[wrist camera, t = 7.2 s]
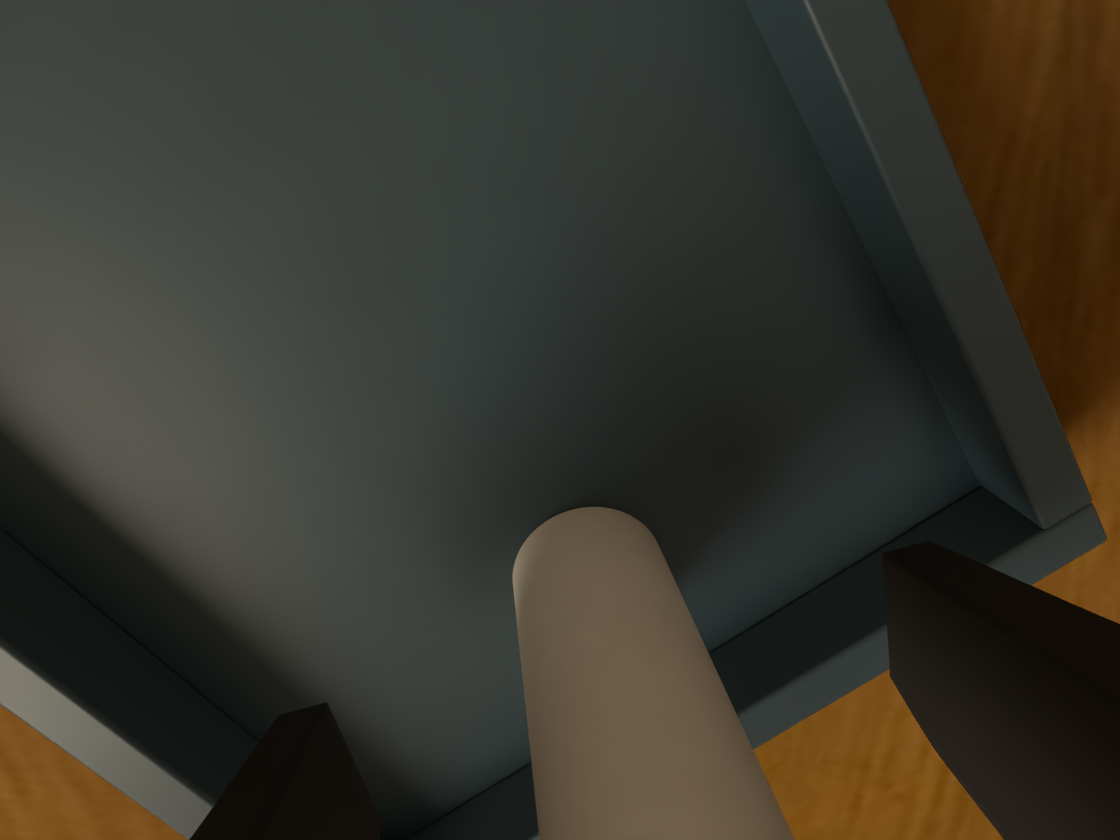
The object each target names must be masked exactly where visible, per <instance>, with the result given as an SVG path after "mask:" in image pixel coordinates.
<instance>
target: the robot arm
mask: <svg viewBox="0 0 1120 840" xmlns="http://www.w3.org/2000/svg"><path fill="white" fill-rule="evenodd" d="M882 560H883V575H884V590H885V605H886V620H887V635H888V650H889V665H890V677H891V679H892V680H893V682H894V684H895V685H896V687H897V689H898V691H899V692H900V694H901V696H902V697H903V699H904V701H905V702H906V704H907V706H908V707H909V709H910V711H911V712H912V714H913V716H914V717H915V719H916V721H917V722H918V724H919V725H920V727H921V729H922V730H923V732H924V733H925V735H926V737H927V738H928V740H929V741H930V743H931V744H932V746H933V748H934V749H935V751H936V752H937V753H938V755H939V756H940V757H941V759H942V760H943V761H944V763H945V764H946V765H947V767H948V768H949V769H950V770H951V772H952V773H953V774H954V776H955V777H956V778H957V779H958V781H959V782H960V783H961V785H962V786H963V787H964V789H965V790H966V791H967V792H968V794H969V795H970V796H971V798H972V799H973V800H974V801H975V803H976V804H977V805H978V807H979V808H980V809H981V810H982V812H983V813H984V814H985V816H986V817H987V818H988V819H989V821H990V822H991V823H992V825H993V826H994V827H995V828H996V830H997V831H998V832H999V833H1000V835H1001V836H1002V837H1003V839H1004V840H1120V624H1118V623H1116V622H1113V621H1111V620H1109V619H1106V618H1104V617H1101V616H1099V615H1097V614H1095V613H1092V612H1090V611H1088V610H1085V609H1083V608H1081V607H1078V606H1076V605H1074V604H1071V603H1069V602H1067V601H1065V600H1062V599H1060V598H1058V597H1056V596H1053V595H1051V594H1049V593H1046V592H1044V591H1042V590H1040V589H1038V588H1035V587H1033V586H1031V585H1029V584H1026V583H1024V582H1022V581H1020V580H1017V579H1015V578H1013V577H1011V576H1009V575H1006V574H1004V573H1002V572H1000V571H997V570H995V569H993V568H991V567H989V566H986V565H984V564H982V563H980V562H977V561H975V560H973V559H971V558H968V557H966V556H964V555H962V554H959V553H957V552H955V551H952V550H950V549H948V548H945V547H943V546H940V545H938V544H935V543H933V542H930V541H925V542H921V543H917V544H914V545H910V546H906V547H903V548H899V549H895V550H891V551H888V552H884V553H882ZM189 840H380V815H379V813H378V811H377V809H376V807H375V805H374V802H373V800H372V798H371V796H370V794H369V792H368V790H367V787H366V785H365V783H364V781H363V779H362V777H361V774H360V772H359V770H358V768H357V766H356V764H355V762H354V759H353V757H352V755H351V753H350V751H349V749H348V746H347V744H346V742H345V740H344V738H343V736H342V734H341V731H340V729H339V727H338V725H337V723H336V721H335V718H334V716H333V714H332V712H331V710H330V708H329V706H328V703H327V702H325V703H322V704H318V705H314V706H310V707H307V708H303V709H299V710H296V711H292V712H288V713H284V714H281V715H279V716H278V717H277V719H276V720H275V721H274V722H273V724H272V725H271V726H270V728H269V729H268V730H267V732H266V733H265V734H264V736H263V737H262V739H261V740H260V741H259V743H258V744H257V746H256V747H255V748H254V750H253V751H252V753H251V754H250V755H249V757H248V758H247V760H246V761H245V762H244V764H243V765H242V767H241V768H240V769H239V771H238V772H237V774H236V775H235V777H234V778H233V779H232V781H231V782H230V784H229V785H228V786H227V788H226V789H225V791H224V792H223V794H222V795H221V796H220V798H219V799H218V801H217V802H216V803H215V805H214V806H213V808H212V809H211V810H210V812H209V813H208V815H207V816H206V817H205V819H204V820H203V822H202V823H201V824H200V826H199V827H198V828H197V830H196V831H195V833H194V834H193V835H192V837H191V838H190V839H189Z"/></svg>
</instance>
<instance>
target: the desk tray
mask: <svg viewBox="0 0 1120 840" xmlns="http://www.w3.org/2000/svg"><path fill="white" fill-rule="evenodd" d="M1091 501H1092V498H1091V496H1090V493H1089V491H1088V488H1087V486H1086V484H1085V481H1084V479H1083V476H1082V474H1081V471H1080V469H1079V467H1078V464H1077V462H1076V459H1075V457H1074V454H1073V452H1072V449H1071V447H1070V445H1069V442H1068V440H1067V437H1066V435H1065V432H1064V430H1063V427H1062V425H1061V423H1060V420H1059V418H1058V415H1057V413H1056V410H1055V408H1054V405H1053V403H1052V401H1051V398H1050V396H1049V393H1048V391H1047V388H1046V386H1045V384H1044V381H1043V379H1042V376H1041V374H1040V371H1039V369H1038V366H1037V364H1036V362H1035V359H1034V357H1033V354H1032V352H1031V349H1030V347H1029V344H1028V342H1027V340H1026V337H1025V335H1024V332H1023V330H1022V327H1021V325H1020V323H1019V320H1018V318H1017V315H1016V313H1015V310H1014V308H1013V305H1012V303H1011V301H1010V298H1009V296H1008V293H1007V291H1006V288H1005V286H1004V283H1003V281H1002V279H1001V276H1000V274H999V271H998V269H997V266H996V264H995V261H994V259H993V257H992V254H991V252H990V249H989V247H988V244H987V242H986V240H985V237H984V235H983V232H982V230H981V227H980V225H979V222H978V220H977V218H976V215H975V213H974V210H973V208H972V205H971V203H970V200H969V198H968V196H967V193H966V191H965V188H964V186H963V183H962V181H961V178H960V176H959V174H958V171H957V169H956V166H955V164H954V161H953V159H952V157H951V154H950V152H949V149H948V147H947V144H946V142H945V139H944V137H943V135H942V132H941V130H940V127H939V125H938V122H937V120H936V117H935V115H934V113H933V110H932V108H931V105H930V103H929V100H928V98H927V96H926V93H925V91H924V88H923V86H922V83H921V81H920V78H919V76H918V74H917V71H916V69H915V66H914V64H913V61H912V59H911V56H910V54H909V52H908V49H907V47H906V44H905V42H904V39H903V37H902V34H901V32H900V30H899V27H898V25H897V22H896V20H895V17H894V15H893V13H892V10H891V8H890V5H889V3H888V0H0V705H2V706H3V707H4V708H6V709H7V710H9V711H10V712H11V713H13V714H14V715H16V716H17V717H18V718H20V719H21V720H22V721H24V722H25V723H27V724H28V725H29V726H31V727H32V728H34V729H35V730H36V731H38V732H39V733H41V734H42V735H43V736H45V737H46V738H48V739H49V740H50V741H52V742H53V743H54V744H56V745H57V746H59V747H60V748H61V749H63V750H64V751H66V752H67V753H68V754H70V755H71V756H73V757H74V758H75V759H77V760H78V761H80V762H81V763H82V764H84V765H85V766H86V767H88V768H89V769H91V770H92V771H93V772H95V773H96V774H98V775H99V776H100V777H102V778H103V779H105V780H106V781H107V782H109V783H110V784H112V785H113V786H114V787H116V788H117V789H118V790H120V791H121V792H123V793H124V794H125V795H127V796H128V797H130V798H131V799H132V800H134V801H135V802H137V803H138V804H139V805H141V806H142V807H144V808H145V809H146V810H148V811H149V812H151V813H152V814H153V815H155V816H156V817H157V818H159V819H160V820H162V821H163V822H164V823H166V824H167V825H169V826H170V827H171V828H173V829H174V830H176V831H177V832H178V833H180V834H181V835H183V836H184V837H185V838H187V839H188V840H189V839H190V838H191V837H192V835H193V834H194V833H195V831H196V830H197V828H198V827H199V826H200V824H201V823H202V822H203V820H204V819H205V817H206V816H207V815H208V813H209V812H210V810H211V809H212V808H213V806H214V805H215V803H216V802H217V801H218V799H219V798H220V796H221V795H222V794H223V792H224V791H225V789H226V788H227V786H228V785H229V784H230V782H231V781H232V779H233V778H234V777H235V775H236V774H237V772H238V771H239V769H240V768H241V767H242V765H243V764H244V762H245V761H246V760H247V758H248V757H249V755H250V754H251V753H252V751H253V750H254V748H255V747H256V746H257V744H258V743H259V741H260V740H261V739H262V737H263V736H264V734H265V733H266V732H267V730H268V729H269V728H270V726H271V725H272V724H273V722H274V721H275V720H276V719H277V717H278V716H279V715H281V714H284V713H288V712H292V711H296V710H299V709H303V708H307V707H310V706H314V705H318V704H322V703H325V702H327V703H328V706H329V708H330V710H331V712H332V714H333V716H334V718H335V721H336V723H337V725H338V727H339V729H340V731H341V734H342V736H343V738H344V740H345V742H346V744H347V746H348V749H349V751H350V753H351V755H352V757H353V759H354V762H355V764H356V766H357V768H358V770H359V772H360V774H361V777H362V779H363V781H364V783H365V785H366V787H367V790H368V792H369V794H370V796H371V798H372V800H373V802H374V805H375V807H376V809H377V811H378V813H379V815H380V840H540V839H539V829H538V820H537V810H536V801H535V791H534V782H533V772H532V762H531V753H530V743H529V734H528V724H527V715H526V705H525V696H524V686H523V676H522V667H521V657H520V648H519V638H518V629H517V619H516V610H515V600H514V590H513V578H512V577H513V568H514V563H515V560H516V557H517V555H518V552H519V550H520V549H521V547H522V545H523V543H524V542H525V541H526V539H527V538H528V537H529V536H530V534H531V533H532V532H533V531H534V530H535V529H536V528H538V527H539V526H540V525H541V524H543V523H544V522H546V521H547V520H549V519H551V518H552V517H554V516H556V515H558V514H561V513H563V512H566V511H569V510H573V509H577V508H583V507H605V508H611V509H615V510H618V511H622V512H624V513H626V514H629V515H631V516H632V517H634V518H636V519H637V520H639V521H640V522H641V523H642V524H644V525H645V526H646V527H647V528H648V529H649V530H650V531H651V533H652V534H653V536H654V537H655V539H656V541H657V543H658V545H659V547H660V549H661V551H662V554H663V556H664V558H665V560H666V562H667V564H668V567H669V569H670V571H671V573H672V575H673V577H674V580H675V582H676V584H677V586H678V588H679V590H680V593H681V595H682V597H683V599H684V601H685V603H686V606H687V608H688V610H689V612H690V614H691V616H692V619H693V621H694V623H695V625H696V627H697V629H698V632H699V634H700V636H701V638H702V640H703V642H704V645H705V647H706V649H707V651H708V653H709V655H710V658H711V660H712V662H713V664H714V666H715V668H716V671H717V673H718V675H719V677H720V679H721V681H722V684H723V686H724V688H725V690H726V692H727V694H728V697H729V699H730V701H731V703H732V705H733V707H734V710H735V712H736V714H737V716H738V718H739V720H740V723H741V725H742V727H743V729H744V731H745V733H746V736H747V738H748V740H749V742H750V744H751V746H752V749H755V748H756V747H758V746H760V745H762V744H763V743H765V742H767V741H768V740H770V739H772V738H773V737H775V736H777V735H778V734H780V733H782V732H784V731H785V730H787V729H789V728H790V727H792V726H794V725H795V724H797V723H799V722H800V721H802V720H804V719H806V718H807V717H809V716H811V715H812V714H814V713H816V712H817V711H819V710H821V709H822V708H824V707H826V706H828V705H829V704H831V703H833V702H834V701H836V700H838V699H839V698H841V697H843V696H844V695H846V694H848V693H849V692H851V691H853V690H855V689H856V688H858V687H860V686H861V685H863V684H865V683H866V682H868V681H870V680H871V679H873V678H875V677H877V676H878V675H880V674H882V673H883V672H885V671H887V670H888V669H890V665H889V650H888V635H887V620H886V605H885V590H884V575H883V560H882V553H884V552H888V551H891V550H895V549H899V548H903V547H906V546H910V545H914V544H917V543H921V542H925V541H930V542H933V543H935V544H938V545H940V546H943V547H945V548H948V549H950V550H952V551H955V552H957V553H959V554H962V555H964V556H966V557H968V558H971V559H973V560H975V561H977V562H980V563H982V564H984V565H986V566H989V567H991V568H993V569H995V570H997V571H1000V572H1002V573H1004V574H1006V575H1009V576H1011V577H1013V578H1015V579H1017V580H1020V581H1022V582H1024V583H1026V584H1029V585H1032V584H1034V583H1036V582H1037V581H1039V580H1041V579H1042V578H1044V577H1046V576H1047V575H1049V574H1051V573H1052V572H1054V571H1056V570H1058V569H1059V568H1061V567H1063V566H1064V565H1066V564H1068V563H1069V562H1071V561H1073V560H1074V559H1076V558H1078V557H1080V556H1081V555H1083V554H1085V553H1086V552H1088V551H1090V550H1091V549H1093V548H1095V547H1096V546H1098V545H1100V544H1102V543H1103V542H1104V541H1105V540H1106V538H1107V536H1106V534H1105V532H1104V529H1103V527H1102V524H1101V522H1100V519H1099V517H1098V514H1097V512H1096V510H1095V507H1094V505H1093V504H1092V503H1091Z"/></svg>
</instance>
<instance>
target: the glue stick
mask: <svg viewBox="0 0 1120 840" xmlns="http://www.w3.org/2000/svg"><path fill="white" fill-rule="evenodd" d="M512 578H513V590H514V600H515V610H516V619H517V629H518V638H519V648H520V657H521V667H522V676H523V686H524V696H525V705H526V715H527V724H528V734H529V743H530V753H531V762H532V772H533V782H534V791H535V801H536V810H537V820H538V829H539V839H540V840H794V837H793V835H792V833H791V831H790V829H789V827H788V824H787V822H786V820H785V818H784V816H783V814H782V811H781V809H780V807H779V805H778V803H777V801H776V798H775V796H774V794H773V792H772V790H771V788H770V785H769V783H768V781H767V779H766V777H765V775H764V772H763V770H762V768H761V766H760V764H759V762H758V759H757V757H756V755H755V753H754V751H753V749H752V746H751V744H750V742H749V740H748V738H747V736H746V733H745V731H744V729H743V727H742V725H741V723H740V720H739V718H738V716H737V714H736V712H735V710H734V707H733V705H732V703H731V701H730V699H729V697H728V694H727V692H726V690H725V688H724V686H723V684H722V681H721V679H720V677H719V675H718V673H717V671H716V668H715V666H714V664H713V662H712V660H711V658H710V655H709V653H708V651H707V649H706V647H705V645H704V642H703V640H702V638H701V636H700V634H699V632H698V629H697V627H696V625H695V623H694V621H693V619H692V616H691V614H690V612H689V610H688V608H687V606H686V603H685V601H684V599H683V597H682V595H681V593H680V590H679V588H678V586H677V584H676V582H675V580H674V577H673V575H672V573H671V571H670V569H669V567H668V564H667V562H666V560H665V558H664V556H663V554H662V551H661V549H660V547H659V545H658V543H657V541H656V539H655V537H654V536H653V534H652V533H651V531H650V530H649V529H648V528H647V527H646V526H645V525H644V524H642V523H641V522H640V521H639V520H637V519H636V518H634V517H632V516H631V515H629V514H626V513H624V512H622V511H618V510H615V509H611V508H605V507H583V508H577V509H573V510H569V511H566V512H563V513H561V514H558V515H556V516H554V517H552V518H551V519H549V520H547V521H546V522H544V523H543V524H541V525H540V526H539V527H538V528H536V529H535V530H534V531H533V532H532V533H531V534H530V536H529V537H528V538H527V539H526V541H525V542H524V543H523V545H522V547H521V549H520V550H519V552H518V555H517V557H516V560H515V563H514V568H513V577H512Z"/></svg>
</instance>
